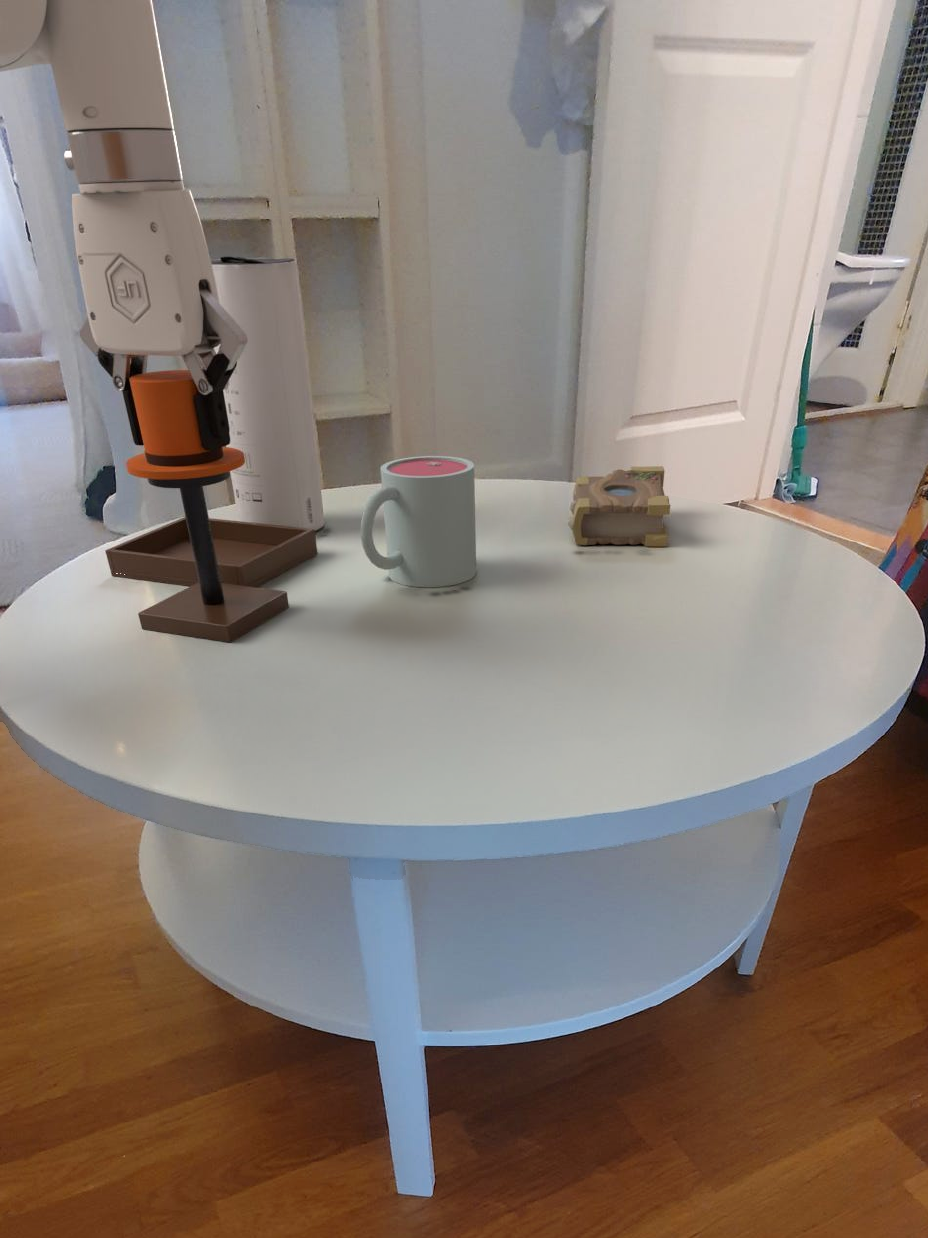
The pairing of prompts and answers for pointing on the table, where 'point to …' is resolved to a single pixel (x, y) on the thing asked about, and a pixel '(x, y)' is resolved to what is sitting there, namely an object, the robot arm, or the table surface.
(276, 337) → the white cylindrical canister
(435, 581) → the mug
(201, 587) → the hat stand
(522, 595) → the table surface
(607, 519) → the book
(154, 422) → the hat
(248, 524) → the tray
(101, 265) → the robot arm
